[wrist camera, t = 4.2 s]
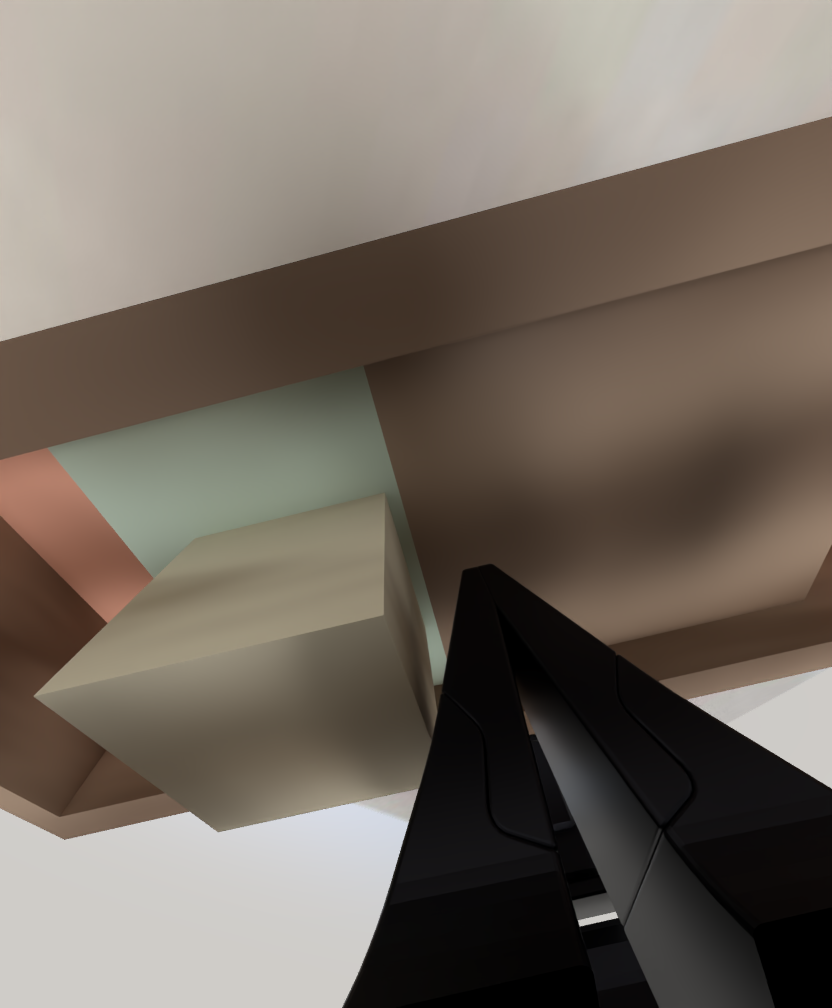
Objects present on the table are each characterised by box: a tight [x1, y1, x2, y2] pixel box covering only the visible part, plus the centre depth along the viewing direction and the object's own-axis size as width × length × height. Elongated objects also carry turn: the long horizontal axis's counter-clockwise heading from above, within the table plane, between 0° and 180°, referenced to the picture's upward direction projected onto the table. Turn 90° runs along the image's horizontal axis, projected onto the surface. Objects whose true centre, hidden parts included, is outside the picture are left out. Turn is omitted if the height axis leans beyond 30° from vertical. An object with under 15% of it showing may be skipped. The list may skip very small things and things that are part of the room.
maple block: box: [34, 493, 437, 832], centre depth 7 cm, size 5×5×4 cm
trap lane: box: [0, 117, 832, 840], centre depth 10 cm, size 14×36×6 cm, turn 103°
